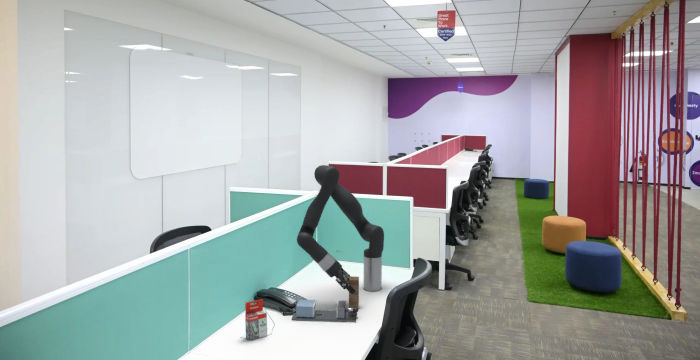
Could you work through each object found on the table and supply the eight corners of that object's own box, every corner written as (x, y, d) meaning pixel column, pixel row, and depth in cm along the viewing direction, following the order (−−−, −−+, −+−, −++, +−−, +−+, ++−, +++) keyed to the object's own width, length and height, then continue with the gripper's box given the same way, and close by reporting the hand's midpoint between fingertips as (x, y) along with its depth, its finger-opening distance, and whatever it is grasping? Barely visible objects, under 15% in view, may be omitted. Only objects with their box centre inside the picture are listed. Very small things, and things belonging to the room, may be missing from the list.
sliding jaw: (299, 309, 226) (299, 299, 225) (316, 310, 225) (316, 300, 225) (296, 316, 218) (296, 306, 217) (313, 317, 217) (313, 306, 217)
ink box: (267, 336, 202) (266, 301, 200) (249, 340, 197) (248, 305, 195) (263, 332, 205) (263, 298, 203) (245, 337, 200) (244, 302, 198)
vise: (295, 311, 227) (295, 298, 226) (359, 313, 225) (359, 300, 224) (291, 320, 217) (291, 307, 216) (357, 322, 215) (357, 308, 214)
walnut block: (349, 305, 234) (349, 276, 233) (358, 305, 234) (358, 276, 232) (348, 308, 230) (348, 279, 228) (358, 309, 230) (358, 279, 228)
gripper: (333, 263, 223) (359, 289, 223) (336, 255, 237) (361, 279, 238) (322, 275, 224) (347, 300, 224) (325, 265, 238) (349, 289, 239)
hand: (354, 289), depth 231 cm, fingers open, 8 cm apart
